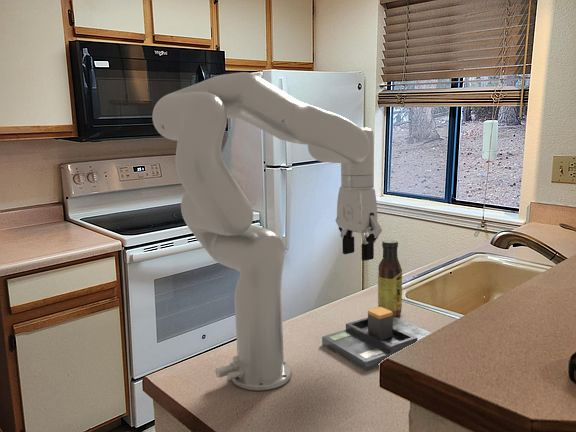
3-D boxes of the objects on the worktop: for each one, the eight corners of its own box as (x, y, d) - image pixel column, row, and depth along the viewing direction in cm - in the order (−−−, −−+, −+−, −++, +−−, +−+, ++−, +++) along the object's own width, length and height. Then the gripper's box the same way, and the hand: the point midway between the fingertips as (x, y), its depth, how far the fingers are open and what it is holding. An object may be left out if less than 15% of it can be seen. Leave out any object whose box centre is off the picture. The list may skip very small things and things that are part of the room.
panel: (365, 370, 111) (365, 355, 110) (322, 344, 124) (321, 330, 123) (439, 344, 122) (439, 330, 122) (392, 322, 135) (392, 310, 135)
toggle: (379, 340, 120) (379, 315, 119) (368, 334, 123) (367, 310, 122) (392, 336, 122) (392, 311, 121) (380, 330, 125) (381, 306, 124)
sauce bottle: (401, 318, 138) (402, 244, 134) (377, 317, 139) (377, 244, 135) (401, 309, 144) (402, 238, 140) (378, 308, 145) (378, 238, 142)
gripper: (322, 179, 128) (323, 251, 131) (369, 187, 113) (369, 267, 117) (346, 177, 132) (347, 246, 135) (395, 183, 117) (394, 261, 121)
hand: (357, 255), depth 126 cm, fingers open, 6 cm apart
